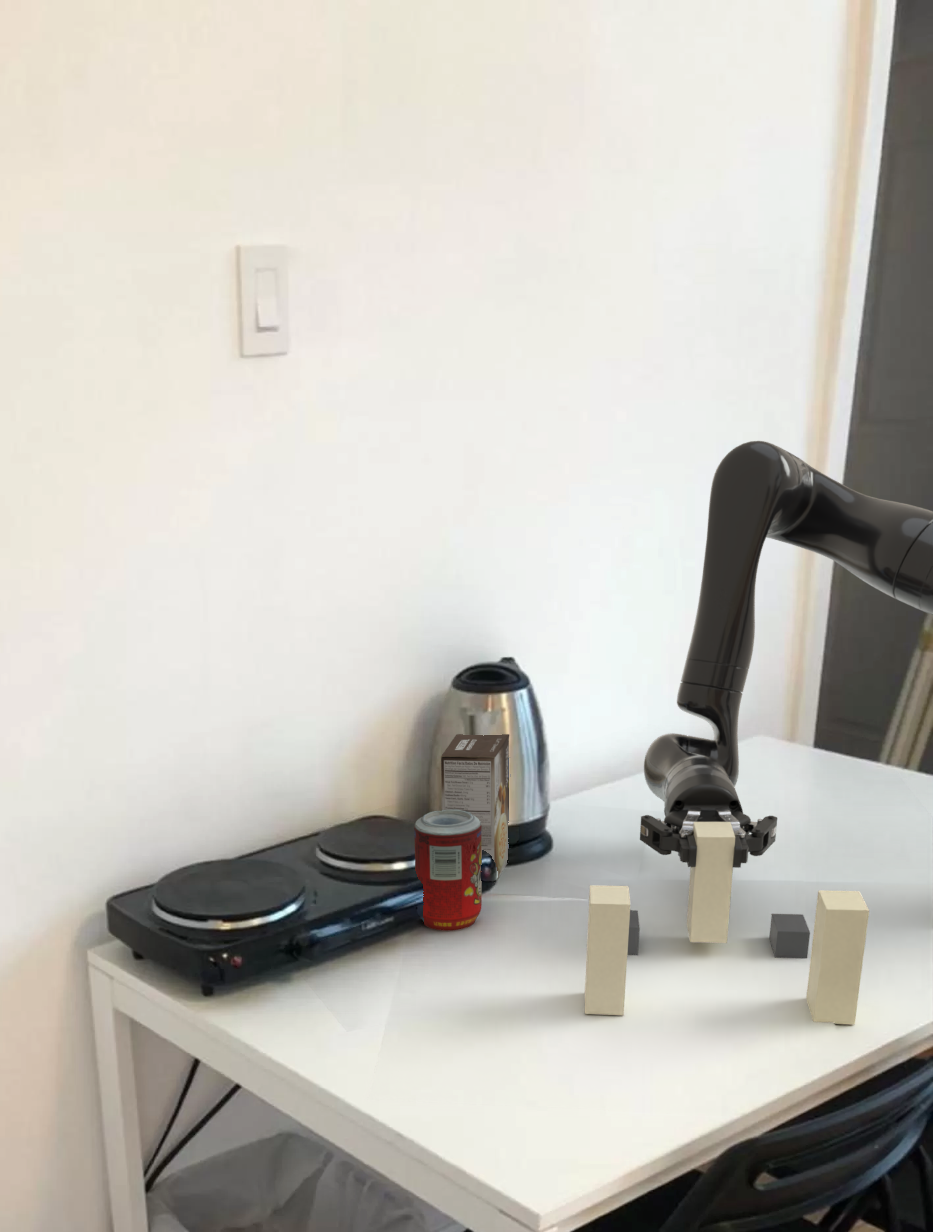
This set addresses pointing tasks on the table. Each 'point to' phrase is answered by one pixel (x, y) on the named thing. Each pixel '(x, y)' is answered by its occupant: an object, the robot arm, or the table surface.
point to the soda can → (449, 868)
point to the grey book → (633, 933)
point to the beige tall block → (837, 956)
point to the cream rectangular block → (607, 949)
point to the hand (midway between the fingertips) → (715, 857)
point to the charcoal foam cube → (789, 936)
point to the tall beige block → (711, 882)
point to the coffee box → (480, 787)
